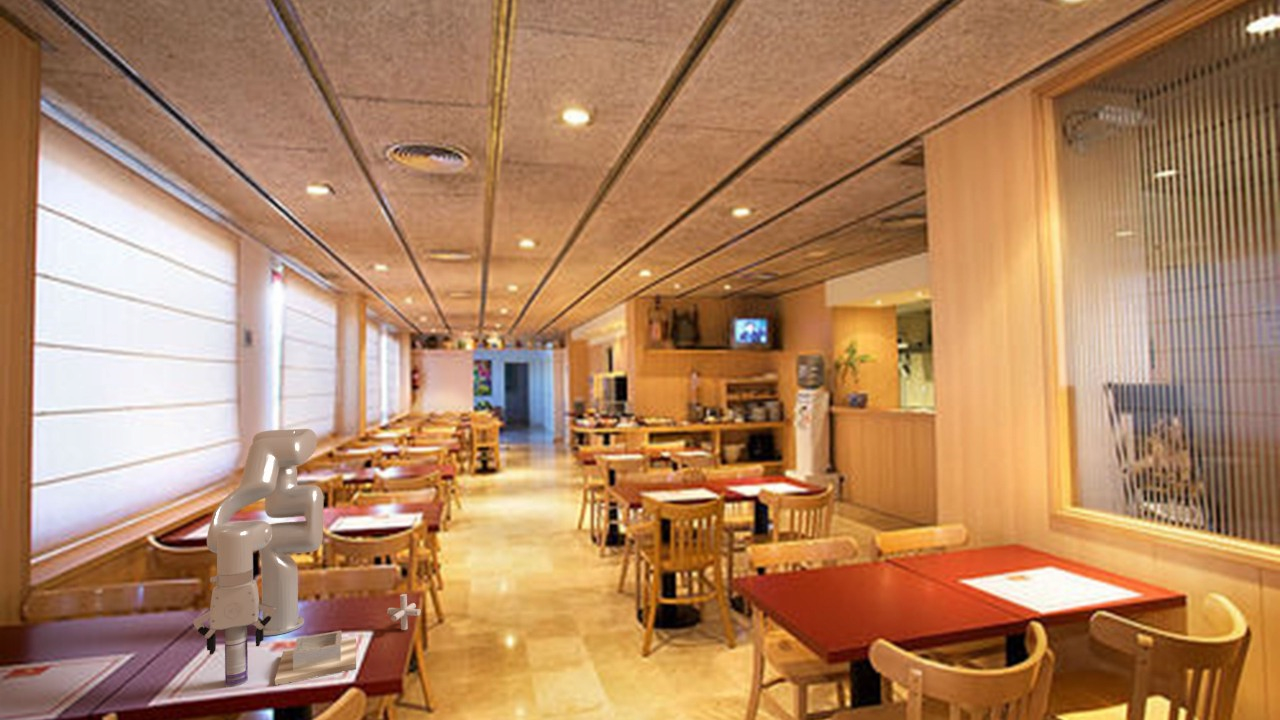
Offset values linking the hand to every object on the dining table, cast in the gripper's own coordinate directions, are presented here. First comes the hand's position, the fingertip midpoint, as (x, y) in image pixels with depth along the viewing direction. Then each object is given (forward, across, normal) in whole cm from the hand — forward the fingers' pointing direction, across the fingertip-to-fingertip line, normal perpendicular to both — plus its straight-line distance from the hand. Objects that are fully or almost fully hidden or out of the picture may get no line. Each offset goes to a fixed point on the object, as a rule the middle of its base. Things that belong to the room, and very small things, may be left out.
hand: (235, 648), depth 153 cm
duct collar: (+7, +18, +2) cm, 19 cm away
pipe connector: (+8, +40, +16) cm, 44 cm away
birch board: (+8, +18, +2) cm, 20 cm away
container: (+9, 0, 0) cm, 9 cm away
